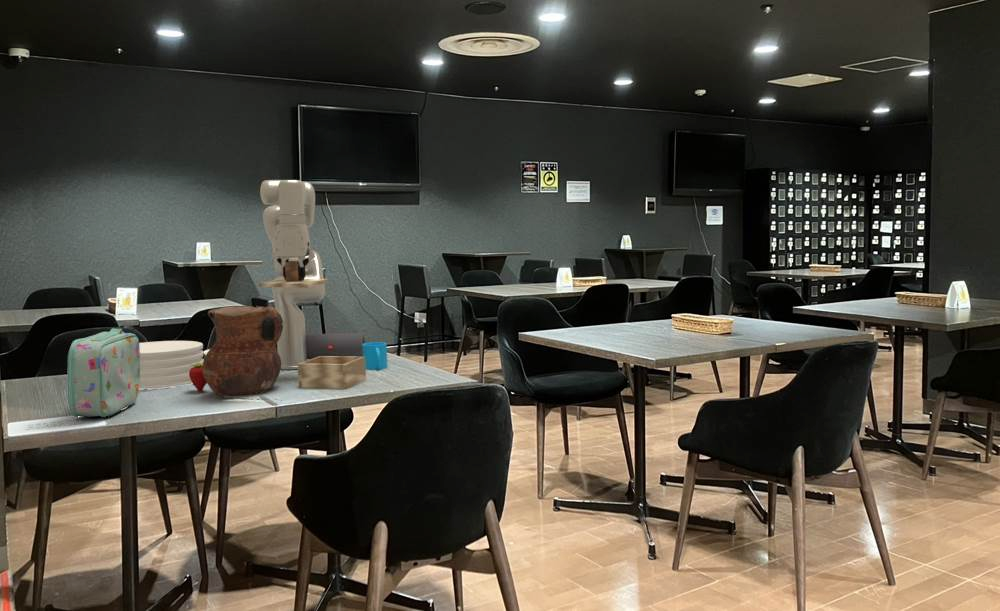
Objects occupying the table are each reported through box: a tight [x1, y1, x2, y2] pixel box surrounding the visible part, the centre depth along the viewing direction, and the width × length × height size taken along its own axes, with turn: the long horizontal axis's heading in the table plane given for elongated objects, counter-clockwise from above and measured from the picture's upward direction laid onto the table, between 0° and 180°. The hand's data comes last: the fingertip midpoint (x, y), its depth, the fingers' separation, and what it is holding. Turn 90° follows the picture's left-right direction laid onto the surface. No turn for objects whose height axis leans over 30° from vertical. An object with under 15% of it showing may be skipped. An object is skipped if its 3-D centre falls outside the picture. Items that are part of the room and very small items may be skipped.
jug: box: [202, 305, 283, 399], centre depth 239 cm, size 22×21×25 cm
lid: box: [258, 261, 330, 288], centre depth 258 cm, size 16×16×7 cm
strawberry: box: [189, 359, 208, 392], centre depth 245 cm, size 6×8×10 cm
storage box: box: [297, 356, 367, 390], centre depth 248 cm, size 15×15×8 cm
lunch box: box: [66, 327, 140, 418], centre depth 219 cm, size 27×10×21 cm, turn 4°
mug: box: [362, 341, 388, 371], centre depth 280 cm, size 12×8×8 cm
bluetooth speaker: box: [305, 332, 366, 360], centre depth 298 cm, size 23×9×10 cm, turn 95°
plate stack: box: [139, 340, 205, 388], centre depth 262 cm, size 28×28×12 cm
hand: (294, 279), depth 259 cm, fingers closed on lid, 4 cm apart
